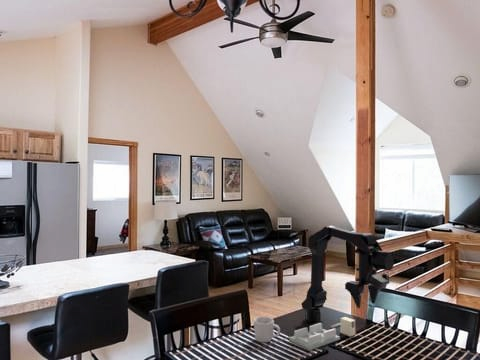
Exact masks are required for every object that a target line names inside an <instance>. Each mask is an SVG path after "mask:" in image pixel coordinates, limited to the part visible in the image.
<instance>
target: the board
mask: <svg viewBox="0 0 480 360" xmlns="http://www.w3.org/2000/svg"><path fill="white" fill-rule="evenodd" d="M308 327H309V329H308ZM308 327H302V328H299V329H295V330H293V334H294V335H293V336H290V337H289V341H290V342H292V343H293V344H296V345H299V346H300V345H301V346H300V347H302V348H304V349H306V350H308V351H312V350H314V349H318V348H320V347H322V346H325V345H328V344H331V343H334V342H337V341H339V340H340V339H341V338H340V336H339V335H337V329H336V327H334V328H331V329H328V330H327V329H324V328H323V322H321V323H318V324H314V325H312V324H310V326H308Z"/></svg>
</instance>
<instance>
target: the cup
mask: <svg viewBox="0 0 480 360" xmlns="http://www.w3.org/2000/svg"><path fill="white" fill-rule="evenodd" d="M279 326H280V325H278V324H275V320H274V319H273V318H271V317H268V316H257V317H255V318H254V319H253V328H254V337H255V340H256V341H257V342H260V343H269V342H271V340H273V337H274V338H278V337H279V336H280V334H281V327H279ZM275 328H276V329H277V332H276V334H275V331H274V330H275Z"/></svg>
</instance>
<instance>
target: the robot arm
mask: <svg viewBox="0 0 480 360" xmlns="http://www.w3.org/2000/svg"><path fill="white" fill-rule="evenodd" d="M333 237H334V238H337V239H339V240H343V241H345V242H346V241H347V242H349V243H351V244H352V245H353V246H354V247H356V249H355V250H353V253H354V254H358V256H357V257H358V266H357V267H355V270H356V271H358V275H357V276H358V277H357V278H355V280H350V281H346V283H345V284H344V289H345V291H346V290H347V292H349V294H350V296H351V297H352V300H353V301H354V304H355V305H356V308H357V309H360V308H361V304H362V303H361V301H362V296H363V294H364V293H365V291H364V290H365V287H368V292H369V293H368V294H369V298H370V301H371V304H373V305H375V304H376V302H377V301H376V300H377V298H378V294H379V293H380V290H382V289H386V288H387V286H388V285H389V284H390V275H389V274H387V273H384V274H381V273H380V274H379V273H378V270H377V269H379V270H384V271H391V270H392V269H393V268H394V264H395V261H394V258H393V256H392V255H391V251H384V250H383V249H382V247H381V245H380V244H379V242H378V240H377V237H376V236H375V234H374V233H371V232H356V231H351V230H348V229H345V228H340V227H337V226H334V225H326V226H324V227H323V228H322V229H320V230H318V231H317V232H315V233H314V234H311V235H310V236H309V237H308V238H307V239H308V241H307V242H308V244H307V245H308V248H309V251H310V252H311V269H310V271H311V272H310V286H309V287H308V290H307V292H306V297H305V299H304V300H303V301H302V302H301V307H302V309H304V319H302V322H305V323H307V324H309V325H315V324H318V323H323V320H321V317H322V315H321V314H322V313H321V308H324V304H325V303H326V301H327V300H328V298H327V295H328V294H327V293H328V292H327V290H325V289H324V287H323V273H324V272H323V271H324V270H323V269H324V268H323V267H324V254H325V253H326V251H327V247H328V243H329V241H331V240H332V239H333Z"/></svg>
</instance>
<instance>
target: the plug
mask: <svg viewBox="0 0 480 360" xmlns="http://www.w3.org/2000/svg"><path fill="white" fill-rule="evenodd" d="M340 323H341V325H340V333H341V334H343V335H345V336H348V337H353V336H355V335H356V319H353V318H349V317H348V316H344V317H340Z"/></svg>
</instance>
